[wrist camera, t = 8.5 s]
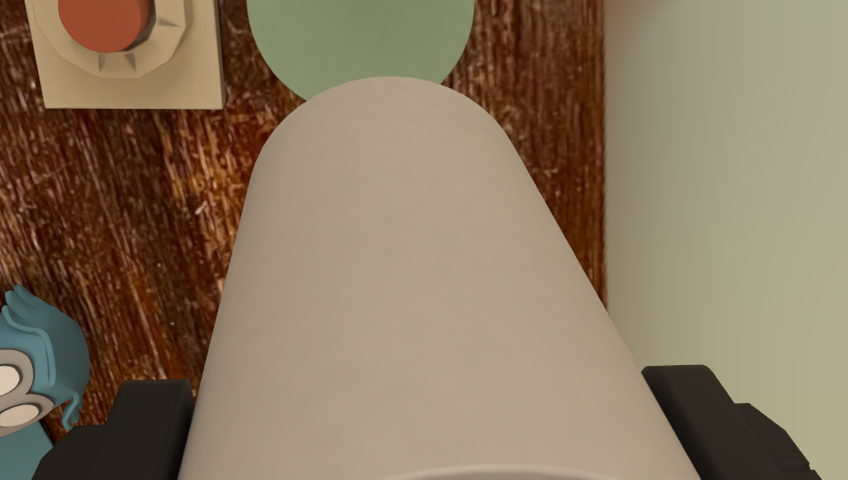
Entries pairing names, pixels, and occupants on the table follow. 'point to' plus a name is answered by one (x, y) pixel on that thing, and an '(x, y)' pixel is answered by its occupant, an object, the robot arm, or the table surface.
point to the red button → (104, 22)
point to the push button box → (134, 61)
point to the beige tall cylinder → (413, 313)
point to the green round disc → (358, 39)
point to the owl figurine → (36, 378)
